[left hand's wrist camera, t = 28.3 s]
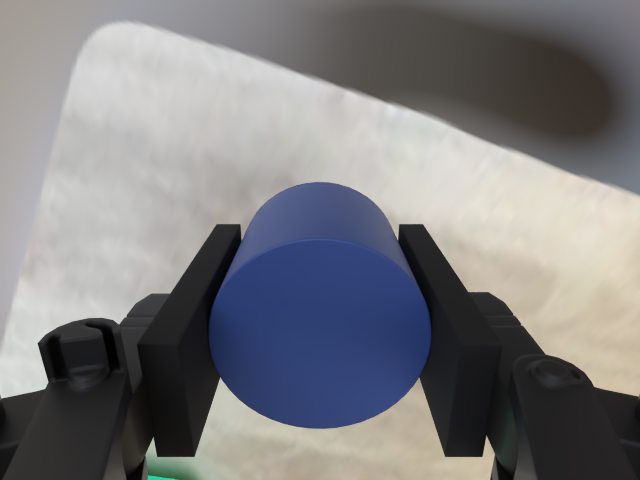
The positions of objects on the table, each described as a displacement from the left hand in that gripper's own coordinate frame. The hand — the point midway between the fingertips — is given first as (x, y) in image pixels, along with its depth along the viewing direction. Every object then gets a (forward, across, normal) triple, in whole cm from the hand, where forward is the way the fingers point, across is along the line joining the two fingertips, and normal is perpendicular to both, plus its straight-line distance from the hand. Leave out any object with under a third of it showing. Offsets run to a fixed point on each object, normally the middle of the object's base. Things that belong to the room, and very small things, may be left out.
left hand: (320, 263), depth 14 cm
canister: (0, 0, 0) cm, 0 cm away
